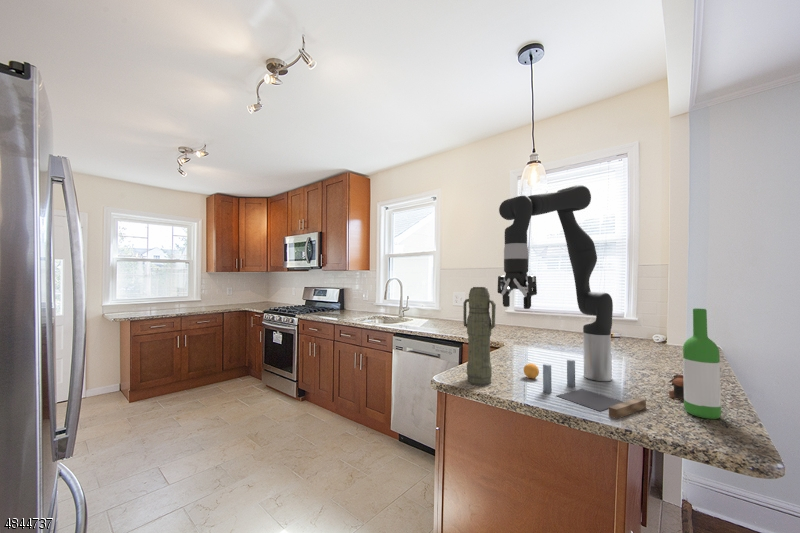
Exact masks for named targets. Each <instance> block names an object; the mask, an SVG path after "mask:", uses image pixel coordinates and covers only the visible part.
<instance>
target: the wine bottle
mask: <svg viewBox="0 0 800 533" xmlns="http://www.w3.org/2000/svg"><path fill="white" fill-rule="evenodd" d="M720 357H721V356H720V349H719V347H718V346H717V344H716V343H715V342H714V341H713V340H712V339H711V338H709V336H708V312H707V309H706V308H692V336H691V337H688V338H687V339H686V340H685V342H684V343H683V346H682V360H683V361H682V369H683V371H682V372H683V379H684V401H683V407H684V410H685V411H686V413H688V414H690V415H692V416H695V417H698V418H703V419H708V420H717V419H719V418H720V417H721V416H722V397H721V396H722V395H721V394H722V393H721V392H722V390H721V387H722V386H721V360H720Z"/></svg>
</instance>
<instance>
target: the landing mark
mask: <svg viewBox="0 0 800 533" xmlns="http://www.w3.org/2000/svg"><path fill="white" fill-rule="evenodd" d="M556 397H557V398H560V399H563V400H566V401H569V402H572V403H575V404H577V405H580V406H583V407H586V408H588V409H592V410H594V411H597V412H603V411H605V410H609V407H611V406H614V405H617V404H620V403H623V402H624V401H623V400H620V399H618V398H613V397H609V396H606V395H603V394H600V393H598V392H594V391H591V390H587V389H584V388H580V389H576V390H575V389H574V390H573V391H572V390H571V391H569V392H563V393H560V394H556Z"/></svg>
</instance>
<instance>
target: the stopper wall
mask: <svg viewBox="0 0 800 533" xmlns="http://www.w3.org/2000/svg"><path fill="white" fill-rule="evenodd" d="M644 409H647V399H646V398H642V397H636V398H632V399H629V400H627V401H626V400H625V401H623V403H620V404H617V405H614V406H611V407H609V409H608V417H610V418H613V419H616V420H617V419H620V418H622V417H625V416H628V415H631V414H634V413H636V412H639V411H641V410H644Z"/></svg>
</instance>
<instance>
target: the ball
mask: <svg viewBox="0 0 800 533" xmlns="http://www.w3.org/2000/svg"><path fill="white" fill-rule="evenodd" d="M523 373H524V375H525V376H526V377H527V378H530V379H536V378H537V377H538V376H539V374H540V371H539V367H538V366H537V365H536V364H534V363H527V364H526V365H524V367H523Z"/></svg>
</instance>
